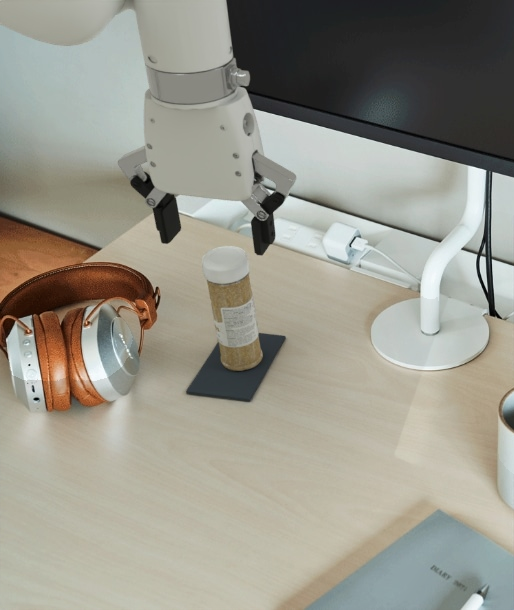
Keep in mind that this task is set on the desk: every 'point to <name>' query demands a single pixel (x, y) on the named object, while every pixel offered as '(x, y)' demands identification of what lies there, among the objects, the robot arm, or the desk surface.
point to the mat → (234, 373)
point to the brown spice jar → (233, 307)
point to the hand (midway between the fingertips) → (217, 242)
